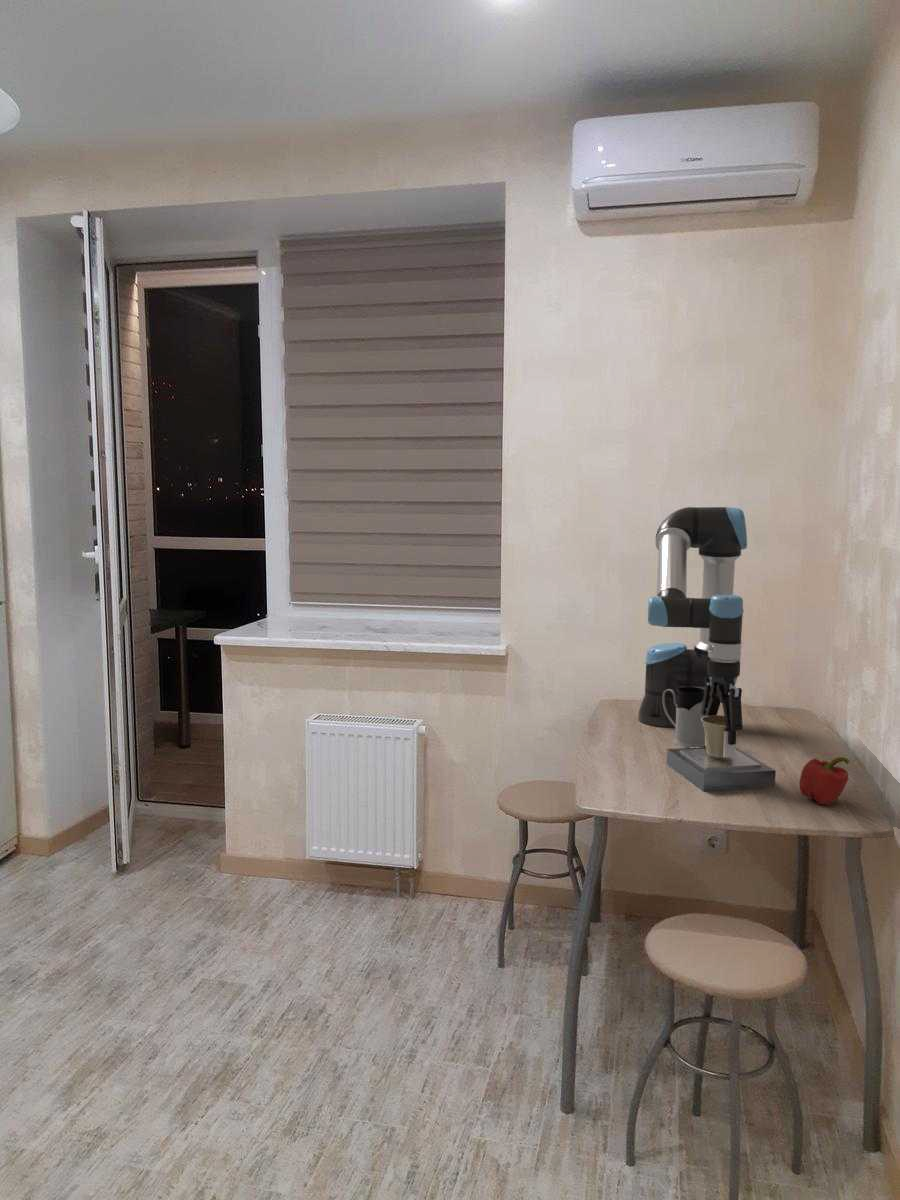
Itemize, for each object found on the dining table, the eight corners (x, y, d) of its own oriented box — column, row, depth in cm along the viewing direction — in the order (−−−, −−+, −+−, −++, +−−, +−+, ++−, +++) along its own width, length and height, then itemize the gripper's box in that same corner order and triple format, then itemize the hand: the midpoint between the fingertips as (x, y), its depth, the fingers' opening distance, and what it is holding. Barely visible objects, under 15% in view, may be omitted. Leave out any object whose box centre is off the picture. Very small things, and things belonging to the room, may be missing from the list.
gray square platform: (666, 764, 217) (667, 747, 217) (732, 760, 220) (733, 743, 220) (703, 791, 198) (704, 772, 197) (774, 786, 201) (775, 768, 200)
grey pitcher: (692, 749, 230) (694, 695, 228) (651, 737, 241) (653, 685, 239) (712, 744, 235) (715, 690, 233) (671, 732, 246) (673, 681, 244)
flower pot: (713, 762, 203) (715, 726, 202) (692, 750, 212) (693, 716, 211) (748, 759, 205) (749, 723, 204) (725, 747, 214) (727, 714, 213)
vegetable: (836, 792, 197) (839, 750, 196) (859, 808, 187) (862, 764, 186) (789, 792, 197) (792, 750, 196) (810, 809, 187) (812, 764, 186)
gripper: (689, 651, 215) (685, 739, 218) (731, 668, 194) (726, 765, 197) (717, 651, 217) (713, 738, 219) (761, 667, 196) (756, 763, 199)
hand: (719, 751), depth 208 cm, fingers closed on flower pot, 8 cm apart
